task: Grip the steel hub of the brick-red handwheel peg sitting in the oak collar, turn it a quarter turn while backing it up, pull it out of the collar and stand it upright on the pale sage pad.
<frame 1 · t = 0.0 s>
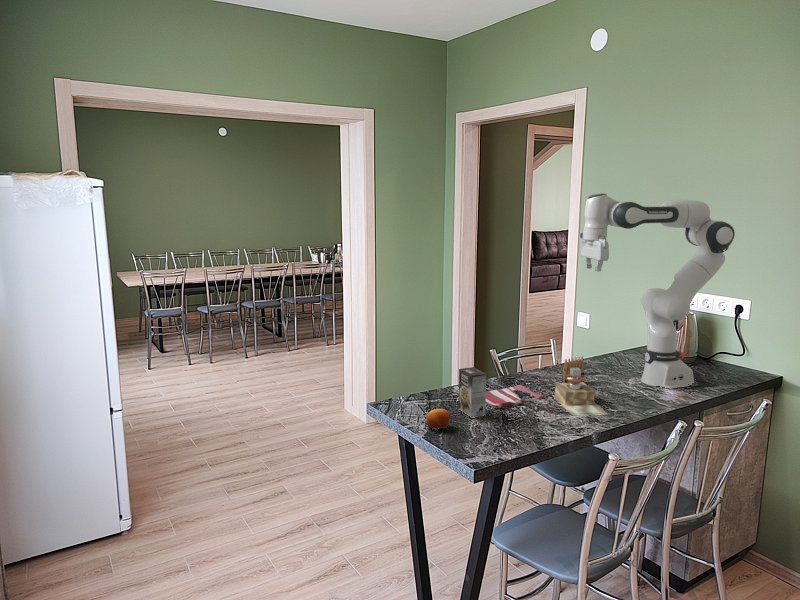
hand: (593, 269, 239), 48 cm above the worktop, tool pointing down, fingers open, 8 cm apart
handwheel peg: (574, 399, 226), point 1 cm above the worktop, touching collar stand
collar stand: (579, 406, 222), on the worktop
fruit: (438, 428, 203), on the worktop
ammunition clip: (572, 385, 247), on the worktop
dish towel: (507, 400, 232), on the worktop
coffee box: (471, 414, 216), on the worktop
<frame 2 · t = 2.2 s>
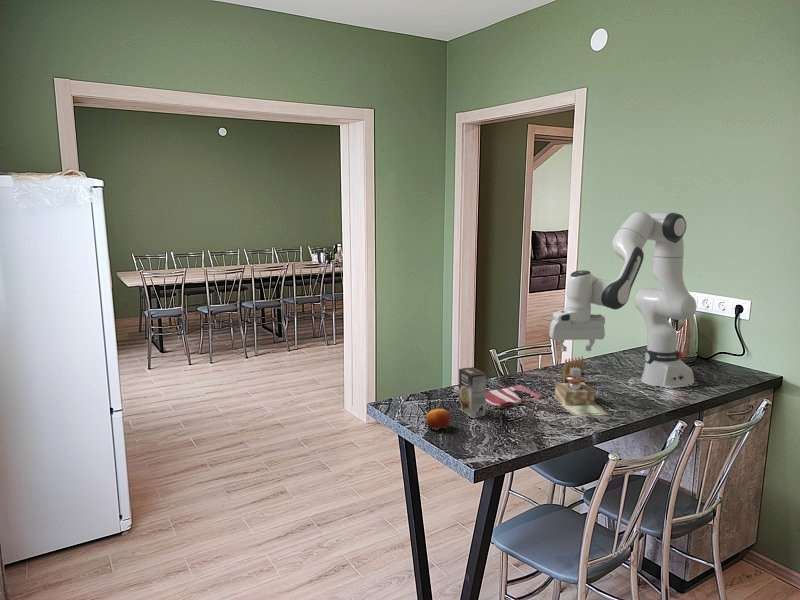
hand: (576, 350, 223), 20 cm above the worktop, tool pointing down, fingers open, 8 cm apart
nothing on the worktop moved.
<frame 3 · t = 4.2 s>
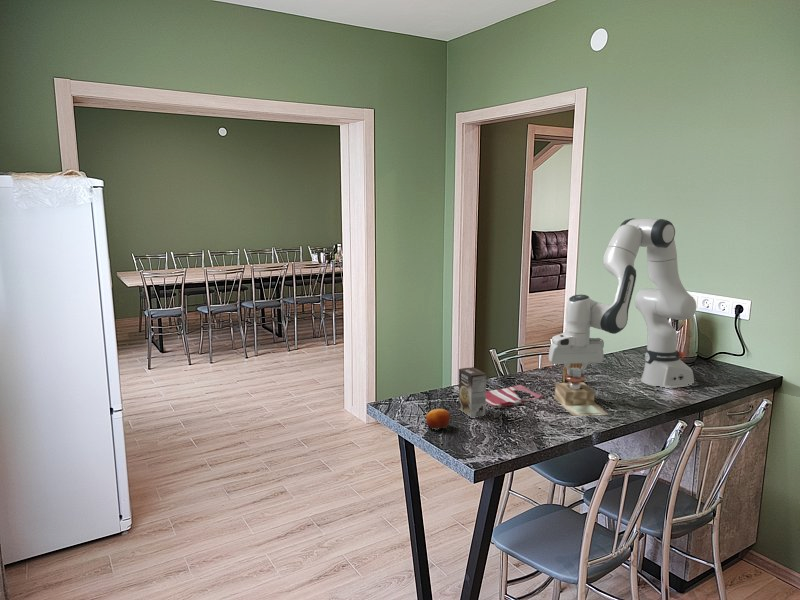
hand: (575, 374, 225), 11 cm above the worktop, tool pointing down, fingers closed on handwheel peg, 3 cm apart
handwheel peg: (574, 399, 226), point 1 cm above the worktop, touching collar stand, gripper
everything else where it was.
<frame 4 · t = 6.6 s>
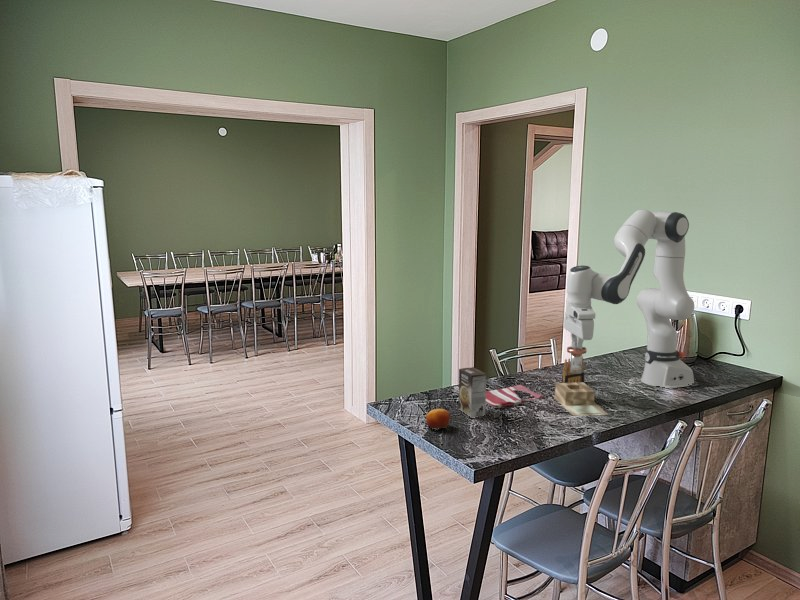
hand: (576, 346, 223), 22 cm above the worktop, tool pointing down, fingers closed on handwheel peg, 3 cm apart
handwheel peg: (575, 372, 225), point 12 cm above the worktop, touching gripper
everything else where it was.
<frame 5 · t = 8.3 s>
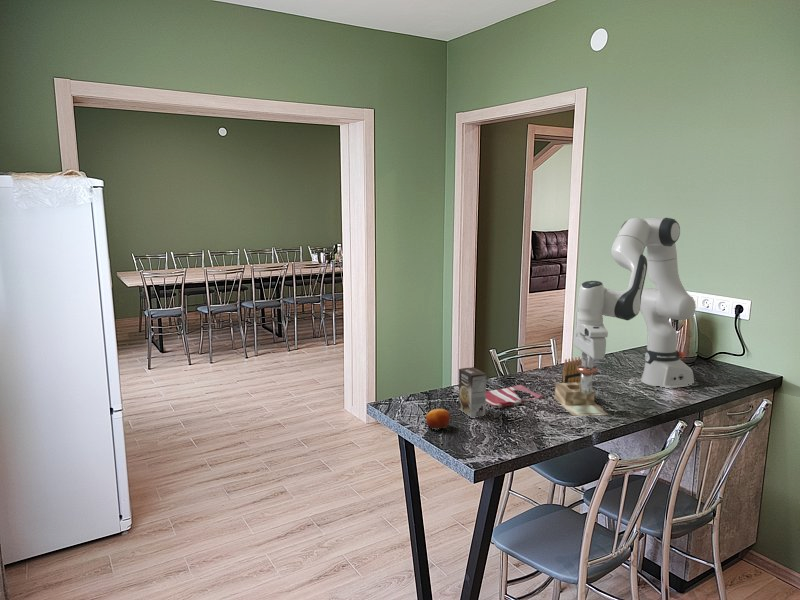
hand: (587, 365, 213), 18 cm above the worktop, tool pointing down, fingers closed on handwheel peg, 3 cm apart
handwheel peg: (585, 392, 214), point 8 cm above the worktop, touching gripper
everything else where it was.
when the fingers open (12 cm above the worktop, at t = 9.4 s): handwheel peg stays where it is, resting on collar stand.
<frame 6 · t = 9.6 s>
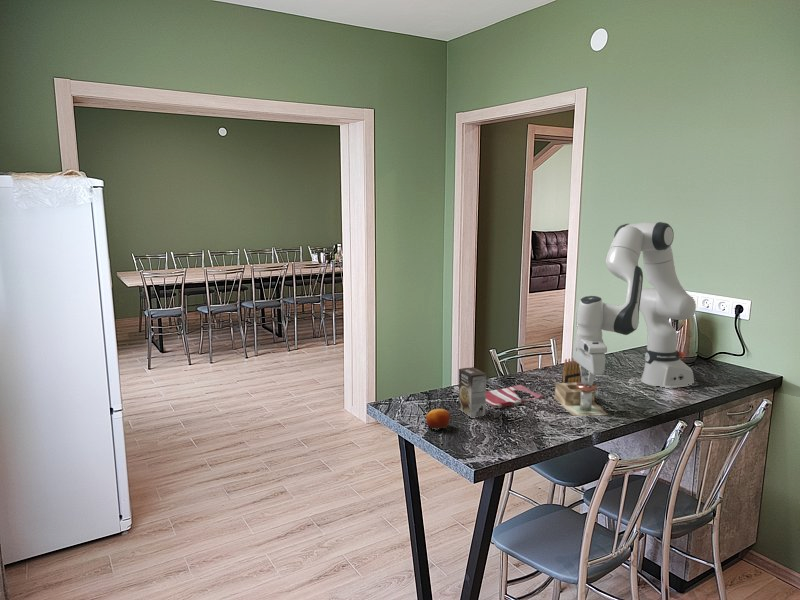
hand: (586, 379, 214), 12 cm above the worktop, tool pointing down, fingers open, 5 cm apart
handwheel peg: (585, 409, 216), point 1 cm above the worktop, touching collar stand
everything else where it was.
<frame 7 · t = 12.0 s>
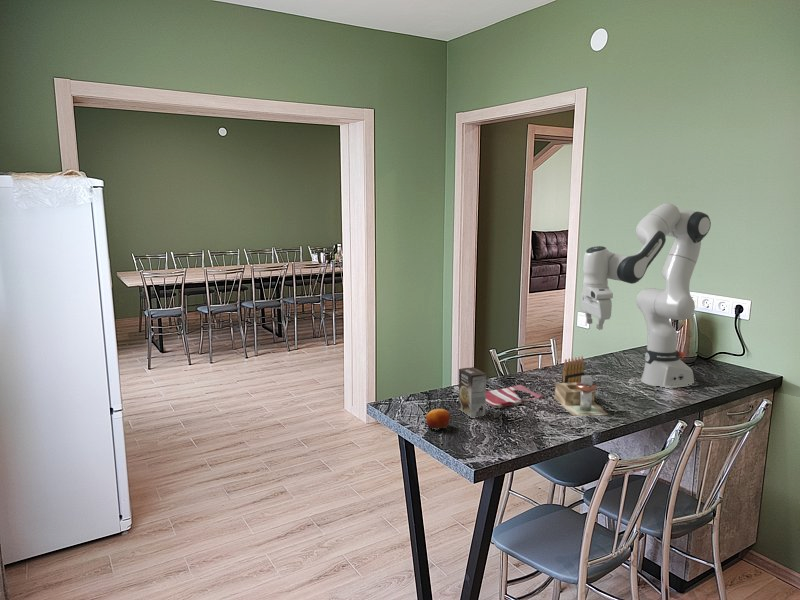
hand: (594, 326, 226), 29 cm above the worktop, tool pointing down, fingers open, 8 cm apart
nothing on the worktop moved.
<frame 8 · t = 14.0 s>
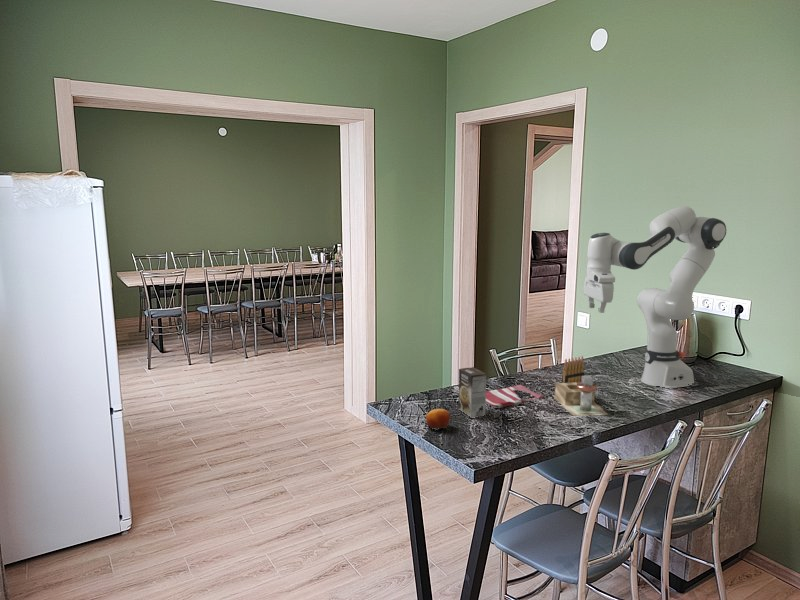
hand: (596, 310, 233), 33 cm above the worktop, tool pointing down, fingers open, 8 cm apart
nothing on the worktop moved.
at the end: handwheel peg 0.1 cm from the target spot on the collar stand, point 1.4 cm above the collar stand's base; handwheel peg tilted 2°; the gripper is holding nothing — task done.
